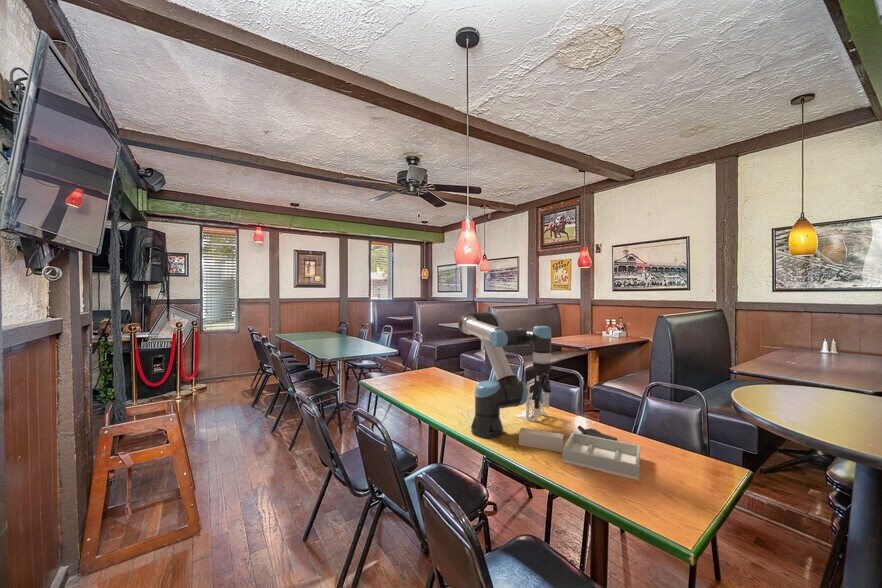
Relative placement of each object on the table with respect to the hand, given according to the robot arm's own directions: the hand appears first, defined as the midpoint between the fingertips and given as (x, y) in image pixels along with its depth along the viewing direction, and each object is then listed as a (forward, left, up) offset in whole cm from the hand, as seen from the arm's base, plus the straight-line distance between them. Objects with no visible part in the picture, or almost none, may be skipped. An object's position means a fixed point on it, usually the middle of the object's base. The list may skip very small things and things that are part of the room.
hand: (541, 411), depth 152 cm
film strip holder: (-15, +35, -15) cm, 41 cm away
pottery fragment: (+20, +22, -16) cm, 33 cm away
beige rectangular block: (0, 0, -15) cm, 15 cm away
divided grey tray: (+24, 0, -15) cm, 28 cm away
